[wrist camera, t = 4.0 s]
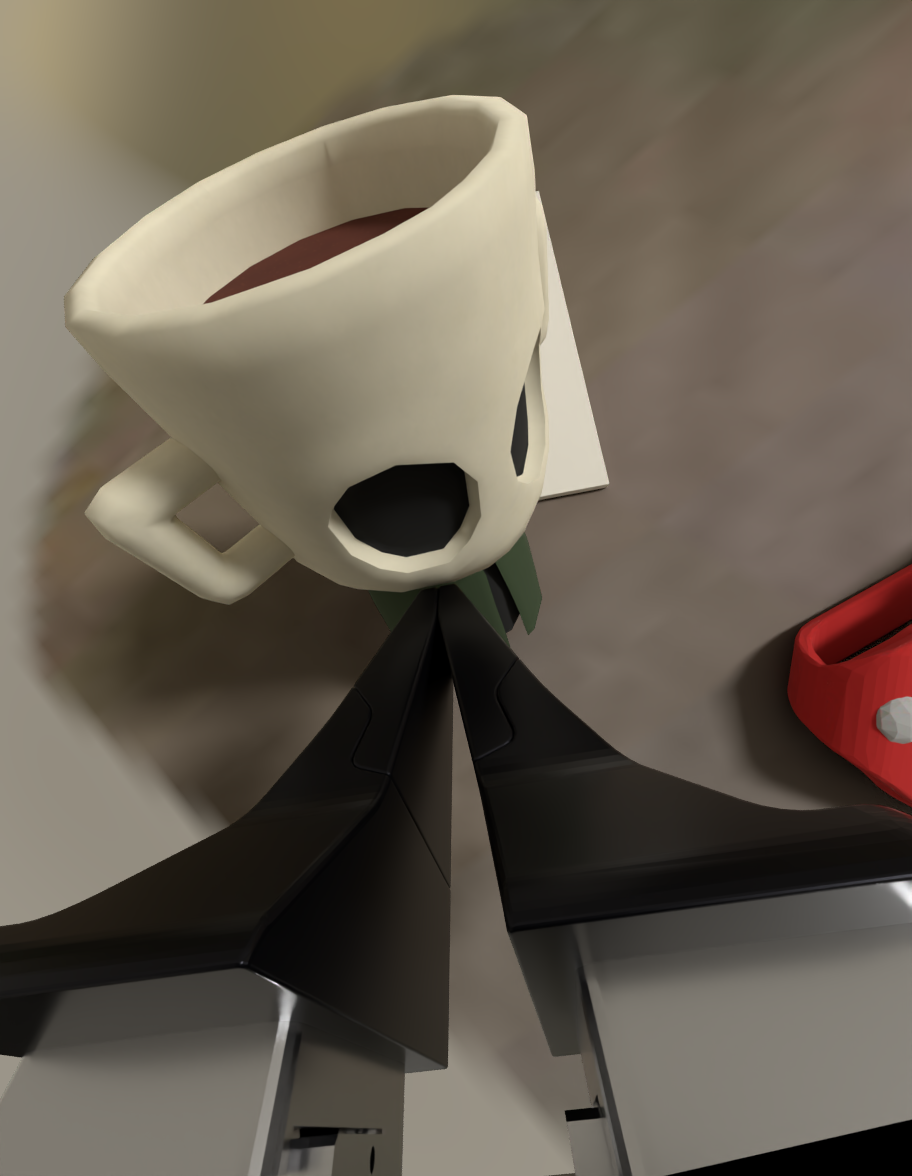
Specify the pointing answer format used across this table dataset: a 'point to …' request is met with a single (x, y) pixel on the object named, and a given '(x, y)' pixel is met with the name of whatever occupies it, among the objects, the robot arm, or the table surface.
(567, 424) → the oatmeal mat
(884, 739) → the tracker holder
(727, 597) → the table surface
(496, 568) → the character mug
